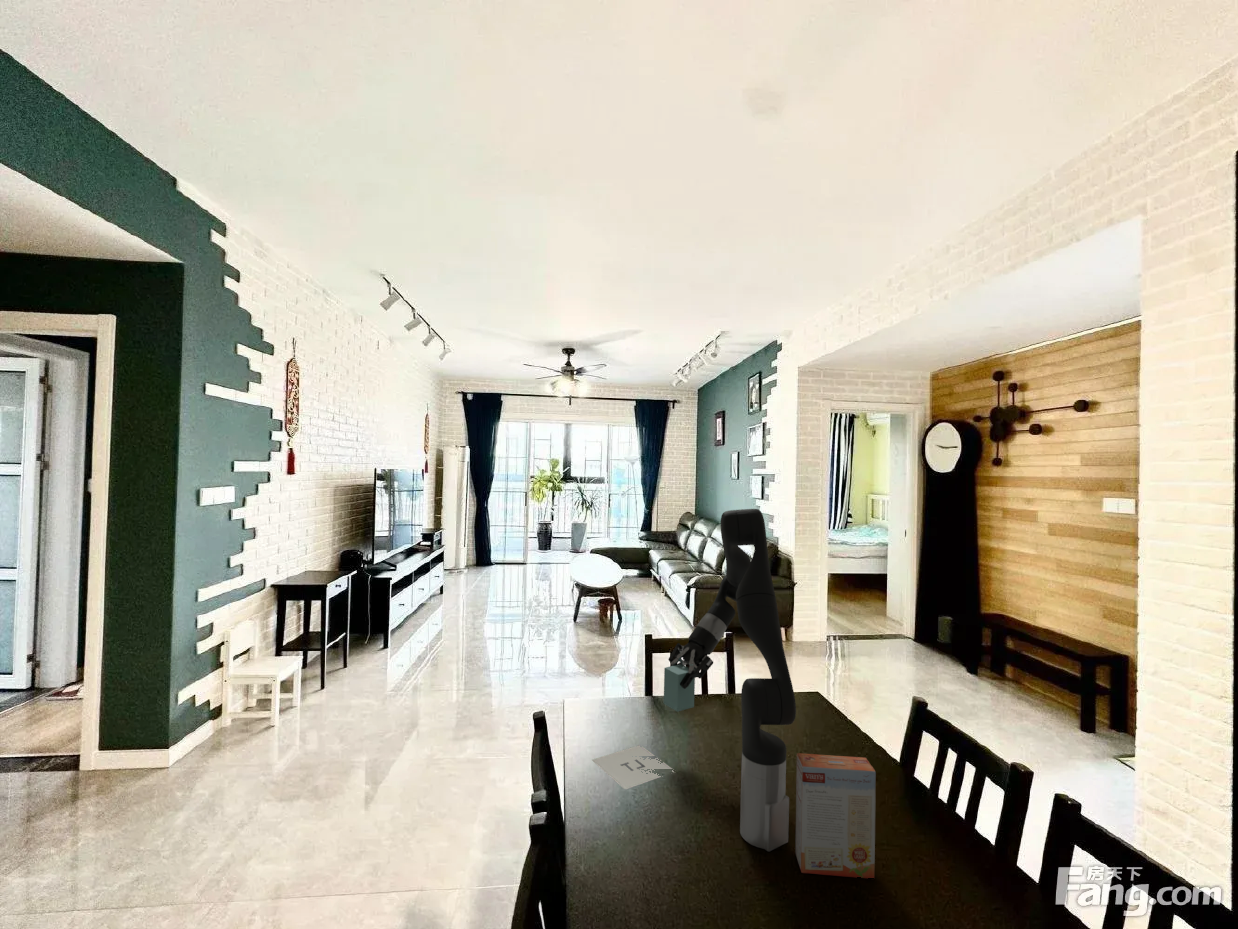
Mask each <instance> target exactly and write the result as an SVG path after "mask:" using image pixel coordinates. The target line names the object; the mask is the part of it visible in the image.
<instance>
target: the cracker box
mask: <svg viewBox="0 0 1238 929" xmlns="http://www.w3.org/2000/svg"><path fill="white" fill-rule="evenodd" d="M876 774H877V773H876V770H875V768H874V767H873V765H871V763H870V761H869V760H868V759H867V757H861V756H860V757H858V756H846V755H844V756H843V755H832V754H831V755H829V754H816V753H815V754H814V753H803V752H801V753H800V752H798V753H796V780H795V781H796V782H795V784H796V785H795V788H796V789H795V791H796V792H795V793H796V794H795V856H796V859H797V860H796V861H797V864H798V866H799V869H800V872H801V874H813V875H822V876H835V877H844V878H845V877H846V878H857V877H861V878H860V879H868V878H874V879H875V868H876V867H875V866H876V864H875V863H876V862H875V861H876V859H875V858H876V856H875V855H876V852H875V850H876V848H875V847H876V846H875V845H876V777H877V776H876Z"/></svg>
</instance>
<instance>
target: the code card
mask: <svg viewBox="0 0 1238 929" xmlns="http://www.w3.org/2000/svg"><path fill="white" fill-rule="evenodd" d="M640 745H641V744H638V745H636V746H637V747H636V746H632V747H630V748H629V747H628V748H626V749H622V750H619V751H616V752H612V753H609V754H607V755H603V756H598V757H597V758H594V759H593V758H592V759H591V761H592V762H593V763H594V764H595V765H597V766H598V767H599V768H600V769H601V770H602V771H603V772H604V773H606V775H607V776H608V777H610V778H612V780H613V781H614V782H616V783H617V784H618V785H619V787H621V788H622V789H623V790H629V789H631V788H634V787H636V786H639V785H642V784H645V783H647V782H650V781H653V780H656V779H658V778H662V777H661V776H658V775H659V774H658V775H657V773H656V774H654V773H652V770H654V769H673V768H672V767H671V766H669V765H668V764H667V763H665V762H664V761H663V763H661V762H660V761H662V759H660V758H659V759H660V761H658V760H659V759H658V757H657V758H655V759H651V758H650V759H651V760H650V759H648V758H649V757H647V758H646V759H645V760H643V759H644V758H642V757H639V756H656V755H655V754H653V753H652V752H650V751H649V750H648V749H646V748H645V747H644V746H642V747H640ZM632 756H633V757H632ZM635 756H637V757H635ZM640 758H641V759H640ZM656 759H658V760H656ZM658 762H659V763H658ZM660 763H661V764H660ZM639 769H640V770H639ZM641 769H644V770H647V769H650V770H648V771H646V772H645V771H644V770H641ZM651 769H652V770H651ZM673 770H674V769H673ZM673 770H672V772H673V773H675V772H674V771H673ZM641 771H642V772H643V773H642V772H641ZM649 771H651V773H650V772H649ZM654 771H655V770H654ZM646 773H648V774H646Z"/></svg>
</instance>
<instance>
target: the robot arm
mask: <svg viewBox="0 0 1238 929" xmlns="http://www.w3.org/2000/svg"><path fill="white" fill-rule="evenodd" d="M720 534H721V542H722V547H723V548H722V549H723V553H724V556H725V565H726V566H725V575H724V576H723V578H722V579H721V582H720V585H719V588H718V592H717V595H716V597H715V599H714V601H713V603H712V604H711V606H710V607H709V609H708V610H707V612H706V613H705V615H703V617H701V619H700V620H699V622H698V623H697V624H696V626H695V627H694V629H693V630H692V632H691V634H690V635H689V636H688V643H686V644H684V645H682V644H681V643H680V642H678V643H677V644H676V645H675V647H674V649H673V650H672V652H671V653H670V655H669V657H668V658H667V660H668V661H669V663H670V666H675V665H679V664H681V665H684V666H686V665H689V667H688V668H689V671H688V673H686V675H685V676H684V678H683V679H682V681H681V682H680V685H681V687H682V688H684V689H686V687H688V686H689V684H690V683H691V681H692V680H693V678H695V679H696V678H697V679H701V678H703V676H705V674H706V673H707V671H708V670H709V669H710V668H711V667H712V666H713V664H714V661H713V659H712V658H711V657H710V656H709V655H711V654H712V653H713V652H714V650H715V648H716V647H717V645H718V644H719V642H720V640H722V638H723V636H724V634H725V633H726V630H727V629H728V627H729V625H730V624H731V622H732V621H733V619H734V618H735V616H736V610H737V617H738V622H739V624H740V626H741V627H742V628H741V629H743V632H745V634H746V635H747V636H748V638H749V639H750V641H751V642H752V643H753V644H754V645H755V647H756V648H757V649H758V651H759V652H760V653H761V655H762V656H763V659H764V660H765V662H766V665H767V667H768V669H769V670H768V671H769V673H770V677H771V678H762V677H761V678H760V677H759V678H756V677H754V678H752V677H751V678H747V679H745V680H744V681H743V683H742V685H741V694H740V695H741V696H740V697H741V698H740V700H741V701H740V702H741V704H740V706H741V745H742V746H741V778H740V780H741V782H740V816H739V817H740V819H739V823H740V824H739V833H740V836H741V837H742V838H743V840H744V841H746V842H747V843H748V844H750V845H751V846H754V847H756V848H760V849H763V850H765V851H767V852H771V851H773V850H775V849H778V848H779V847H781V846H783V845H785V844H787V843H789V826H790V825H789V823H790V822H789V821H790V820H789V817H790V815H789V814H790V797H789V796H788V795H786V783H787V782H786V780H787V779H786V778H787V777H786V776H787V774H786V773H787V746H786V744H785V742H784V741H783V740H782V739H781V738H780V737H779V736H777V735H776V734H772V733H770V732H768V731H765V730H763V729H762V728H761V726H767V725H768V726H787V725H792V724H793V723H794V722H795V719H796V716H797V704H796V696H795V692H794V688H793V687H794V686H793V683H792V680H791V674H790V670H789V666H788V663H787V657H786V654H785V650H784V643H783V638H782V630H781V626H780V624H781V623H780V618H779V609H778V604H777V603H778V602H777V597H776V592H775V588H774V582H773V579H772V573H771V567H770V558H769V550H768V542H767V539H768V538H767V529H766V523H765V518H764V514H763V513H762V511H761V510H760V509H758V508H744V509H742V508H741V509H731V510H726V511H723V513H722V514H721V517H720ZM740 546H753V547H754V551H753V555H752V557H751V559H750V557H749V555H748V554H747V553H746V551H745V550H743V549H742V548H741V547H740ZM727 597H728V598H729V599H731V600H733V602H734V601H735V602H736V610H735V608H734V607H733V605H731V604H730V602H728V600H727Z"/></svg>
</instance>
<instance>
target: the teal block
mask: <svg viewBox="0 0 1238 929" xmlns="http://www.w3.org/2000/svg"><path fill="white" fill-rule="evenodd" d="M663 671H664V672H663V674H664V675H663V676H664V677H663V704H664V705H665V706H667V707H669V708H670V709H672V710H673V711H675V712H676V713H678V712H681V711H684V710H689V709H691V708H695V693H696V692H695V689H696V687H695V686H696V685H695V684H696V678H693V680H692V681H691V683H690V684H689V686H688V687H686V689H684V688H682V687H681V685H680V682H681V681H682V679H683V678H684V676H685V675H686V673H688V671H689V667H688V666H686V665H685V666H684V665H681V664H679V665H675V666H671V665H670V666H666V667H664V670H663Z"/></svg>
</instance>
